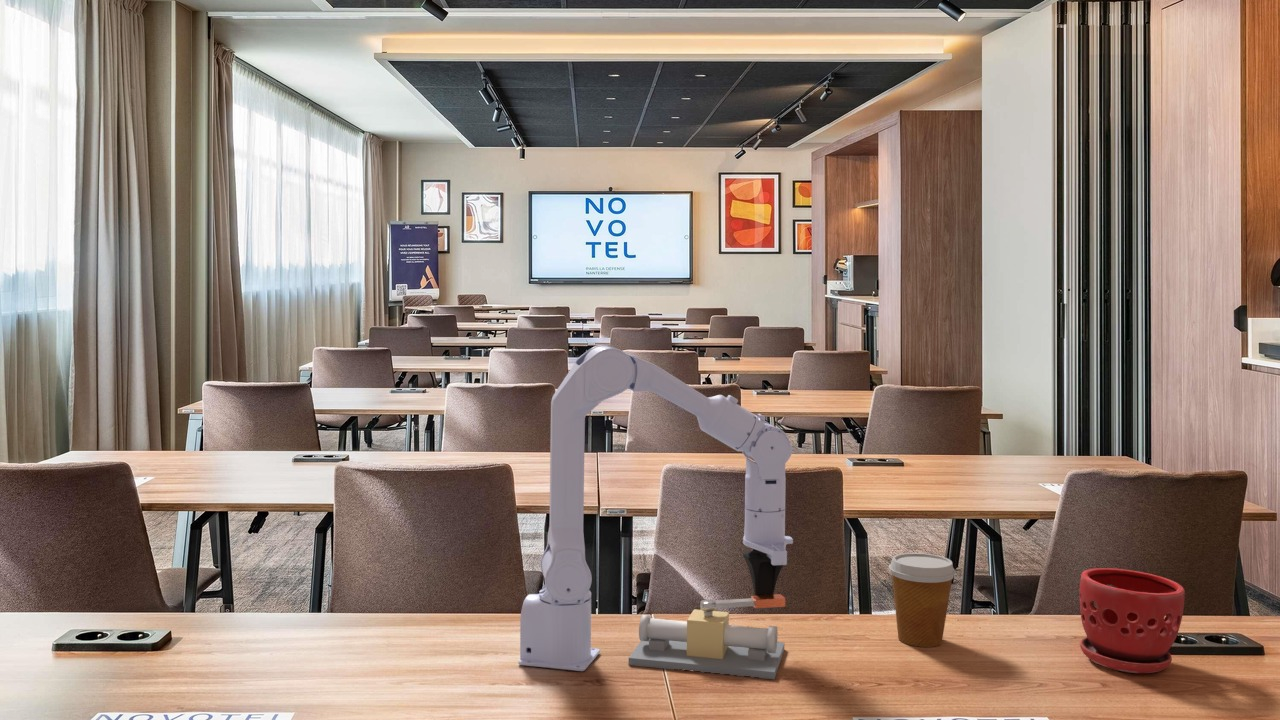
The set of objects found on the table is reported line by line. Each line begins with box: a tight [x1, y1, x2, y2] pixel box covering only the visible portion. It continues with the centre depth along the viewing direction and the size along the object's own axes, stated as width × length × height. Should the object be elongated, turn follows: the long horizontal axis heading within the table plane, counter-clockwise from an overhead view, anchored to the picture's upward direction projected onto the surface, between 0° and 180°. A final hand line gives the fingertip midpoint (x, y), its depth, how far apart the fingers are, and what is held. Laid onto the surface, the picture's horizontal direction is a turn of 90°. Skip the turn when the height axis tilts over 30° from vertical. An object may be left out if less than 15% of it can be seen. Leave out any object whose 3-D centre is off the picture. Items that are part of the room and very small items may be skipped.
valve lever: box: [699, 593, 786, 612], centre depth 145 cm, size 12×2×1 cm, turn 103°
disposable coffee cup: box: [888, 552, 956, 648], centre depth 152 cm, size 10×10×12 cm
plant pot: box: [1078, 567, 1186, 674], centre depth 143 cm, size 13×13×12 cm
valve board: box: [628, 609, 785, 681], centre depth 144 cm, size 20×12×7 cm, turn 76°
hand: (763, 602), depth 147 cm, fingers closed
